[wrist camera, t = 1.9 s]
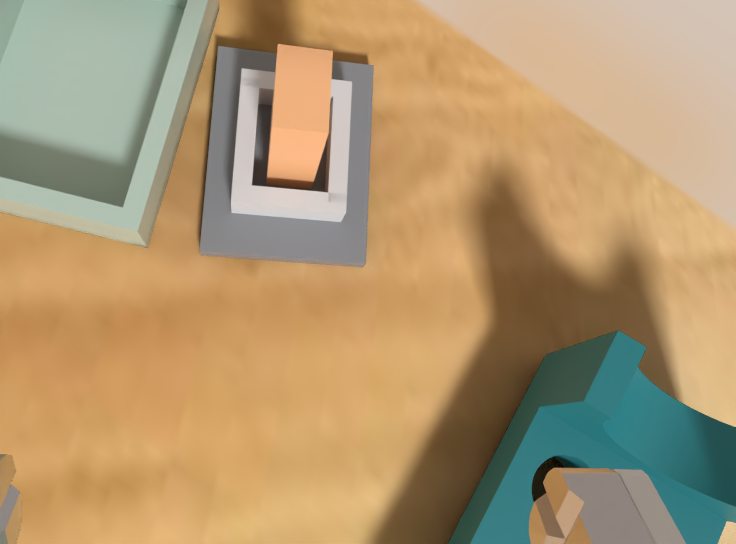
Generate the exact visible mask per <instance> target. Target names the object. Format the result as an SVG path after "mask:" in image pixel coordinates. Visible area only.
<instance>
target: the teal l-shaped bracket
mask: <svg viewBox="0 0 736 544" xmlns="http://www.w3.org/2000/svg"><path fill="white" fill-rule="evenodd" d="M646 348H647V347H645V346H644V345H642V344H640V343H639V342H637V341H635V340H634V339H632V338H630V337H629V336H627V335H625V334H624V333H622V332H620V331H619V330H618V331H615V332H612V333H609V334H606V335H603V336H600V337H597V338H594V339H591V340H588V341H585V342H582V343H579V344H576V345H573V346H570V347H567V348H564V349H562V350H559V351H556V352H553V353H550V354H547V355H545V357H544V359H543V361H542V363H541V365H540V367H539V369H538V370H537V372H536V374H535V376H534V378H533V380H532V382H531V384H530V386H529V388H528V390H527V392H526V394H525V396H524V398H523V399H522V401H521V403H520V405H519V407H518V409H517V411H516V413H515V415H514V417H513V419H512V421H511V423H510V425H509V426H508V428H507V430H506V432H505V434H504V436H503V438H502V440H501V442H500V444H499V446H498V448H497V450H496V452H495V454H494V455H493V457H492V459H491V461H490V463H489V465H488V467H487V469H486V471H485V473H484V475H483V477H482V479H481V481H480V482H479V484H478V486H477V488H476V490H475V492H474V494H473V496H472V498H471V500H470V502H469V504H468V506H467V508H466V510H465V511H464V513H463V515H462V517H461V519H460V521H459V523H458V525H457V527H456V529H455V531H454V533H453V535H452V537H451V538H450V540H449V542H448V544H531V542H530V535H529V519H530V513H531V510H532V507H533V505H534V501H533V497H532V481H533V477H534V475H535V473H536V471H537V469H538V468H539V466H540V465H541V464H542V463H543V462H544V461H546V460H547V459H549V458H551V457H554V458H555V459H557V460H558V461H559V462H560V463H561V464H562V465H563V466H564V468H608V469H631V470H642V471H644V472H645V473H646V474H647V475H648V476H649V478H650V480H651V481H652V483H653V485H654V487H655V489H656V490H657V492H658V494H659V496H660V498H661V499H662V501H663V503H664V505H665V506H666V508H667V510H668V512H669V514H670V515H671V517H672V519H673V521H674V523H675V524H676V526H677V528H678V530H679V532H680V533H681V535H682V537H683V539H684V541H685V542H686V544H717V543H718V541H719V539H720V536H721V534H722V531H723V529H724V526H725V524H726V521H730V522H735V523H736V427H733V426H731V425H728V424H725V423H723V422H720V421H718V420H715V419H713V418H711V417H709V416H706V415H704V414H702V413H700V412H698V411H696V410H694V409H692V408H690V407H688V406H686V405H685V404H683V403H681V402H679V401H678V400H676V399H674V398H673V397H671V396H670V395H668V394H667V393H665V392H664V391H662V390H661V389H659V388H658V387H657V386H656V385H654V384H653V383H652V382H651V381H650V380H649V379H648V378H647V377H646V376H645V375H644V374H643V373H642V372H641V371H640V369H639V368H638V365H639V363H640V361H641V358H642V356H643V354H644V352H645V350H646Z"/></svg>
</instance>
